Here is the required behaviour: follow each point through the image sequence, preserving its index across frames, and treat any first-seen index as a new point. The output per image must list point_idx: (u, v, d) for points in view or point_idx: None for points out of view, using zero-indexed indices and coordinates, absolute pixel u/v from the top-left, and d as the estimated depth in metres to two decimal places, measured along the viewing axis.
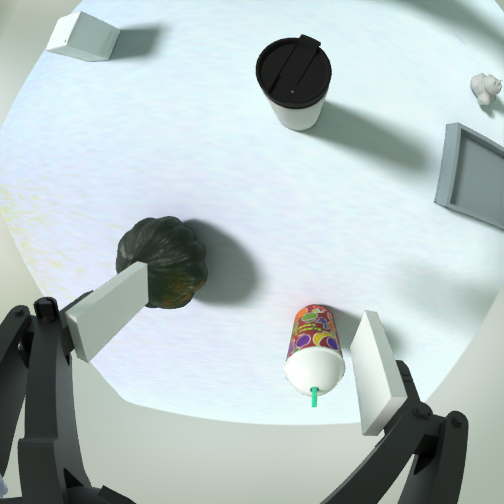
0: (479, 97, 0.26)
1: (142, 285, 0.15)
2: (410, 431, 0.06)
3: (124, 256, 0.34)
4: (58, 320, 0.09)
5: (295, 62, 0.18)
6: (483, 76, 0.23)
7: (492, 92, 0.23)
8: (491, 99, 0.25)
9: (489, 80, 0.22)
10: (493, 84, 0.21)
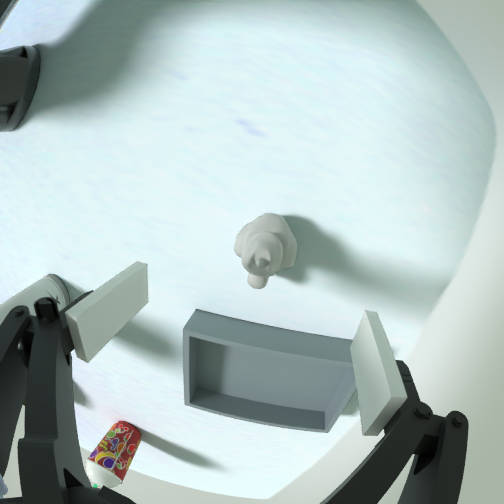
0: None
1: (142, 285, 0.15)
2: (410, 431, 0.06)
3: None
4: (58, 320, 0.09)
5: None
6: (257, 229, 0.22)
7: None
8: (279, 269, 0.24)
9: (243, 256, 0.20)
10: (248, 267, 0.20)
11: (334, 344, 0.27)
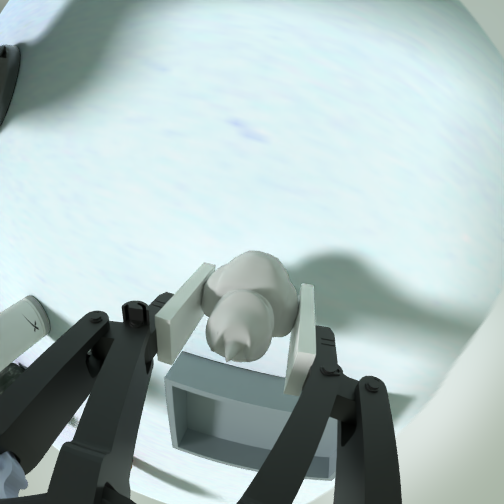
0: None
1: None
2: (322, 390, 0.08)
3: None
4: (147, 327, 0.10)
5: None
6: (233, 281, 0.13)
7: None
8: None
9: (207, 332, 0.12)
10: (216, 350, 0.12)
11: None
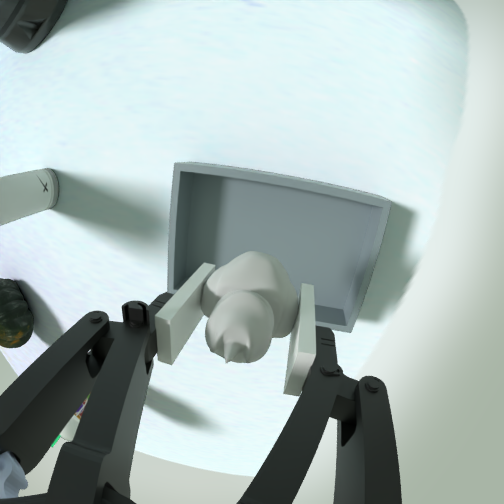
0: None
1: None
2: (322, 390, 0.08)
3: None
4: (147, 327, 0.10)
5: None
6: (233, 282, 0.13)
7: None
8: None
9: (207, 333, 0.12)
10: (216, 351, 0.11)
11: (347, 188, 0.24)
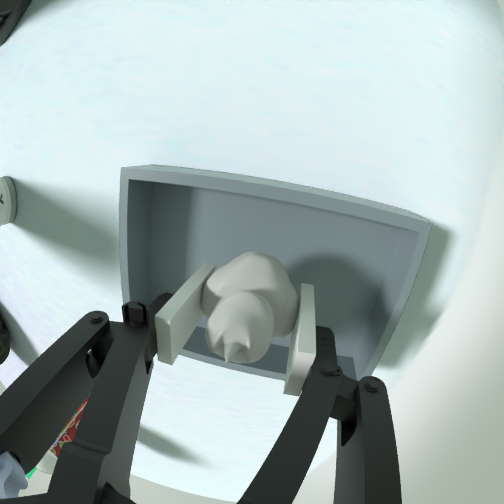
0: None
1: None
2: (322, 390, 0.08)
3: None
4: (147, 327, 0.10)
5: None
6: (233, 282, 0.13)
7: None
8: None
9: (207, 333, 0.12)
10: (216, 351, 0.11)
11: (367, 201, 0.16)
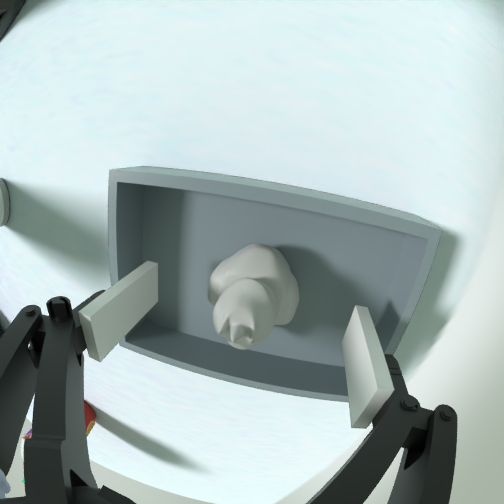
0: None
1: (153, 284, 0.16)
2: (398, 424, 0.07)
3: None
4: (71, 320, 0.09)
5: None
6: (238, 271, 0.15)
7: None
8: None
9: None
10: None
11: (372, 205, 0.15)
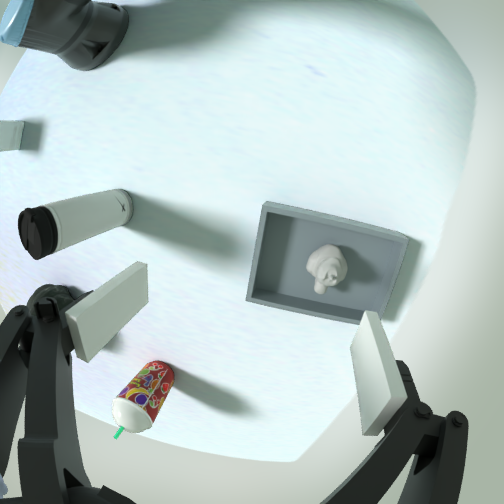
0: (315, 280, 0.36)
1: (142, 285, 0.15)
2: (410, 431, 0.06)
3: None
4: (58, 320, 0.09)
5: (30, 229, 0.23)
6: (324, 255, 0.33)
7: (324, 285, 0.32)
8: None
9: (319, 273, 0.31)
10: (322, 280, 0.31)
11: (379, 228, 0.34)
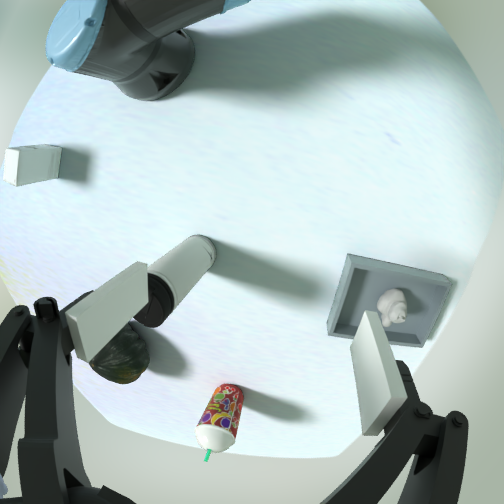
0: (382, 316, 0.41)
1: (142, 285, 0.15)
2: (410, 431, 0.06)
3: None
4: (58, 320, 0.09)
5: None
6: (393, 299, 0.39)
7: (393, 322, 0.38)
8: None
9: (391, 315, 0.37)
10: (394, 320, 0.37)
11: (430, 273, 0.39)
